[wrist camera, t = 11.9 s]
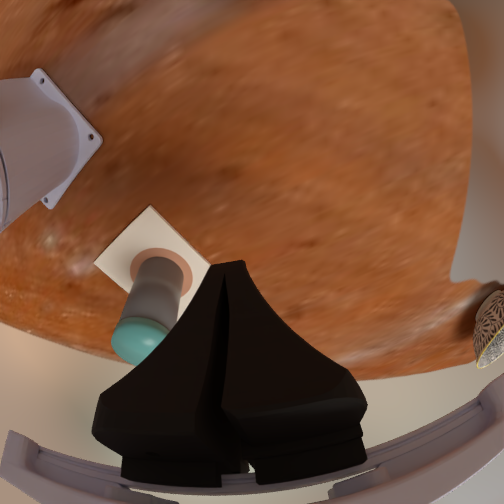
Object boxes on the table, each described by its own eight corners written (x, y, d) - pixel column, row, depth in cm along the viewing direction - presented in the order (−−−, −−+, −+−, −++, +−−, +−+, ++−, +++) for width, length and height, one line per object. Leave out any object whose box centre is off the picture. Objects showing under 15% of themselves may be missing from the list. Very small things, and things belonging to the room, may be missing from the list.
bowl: (523, 252, 27) (550, 278, 21) (504, 312, 35) (522, 337, 29) (464, 295, 29) (492, 330, 23) (449, 351, 38) (467, 381, 31)
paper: (94, 260, 22) (93, 263, 21) (150, 204, 19) (149, 206, 19) (172, 324, 26) (171, 327, 26) (233, 285, 24) (233, 288, 24)
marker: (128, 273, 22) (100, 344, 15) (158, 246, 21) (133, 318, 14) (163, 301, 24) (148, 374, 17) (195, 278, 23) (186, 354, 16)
